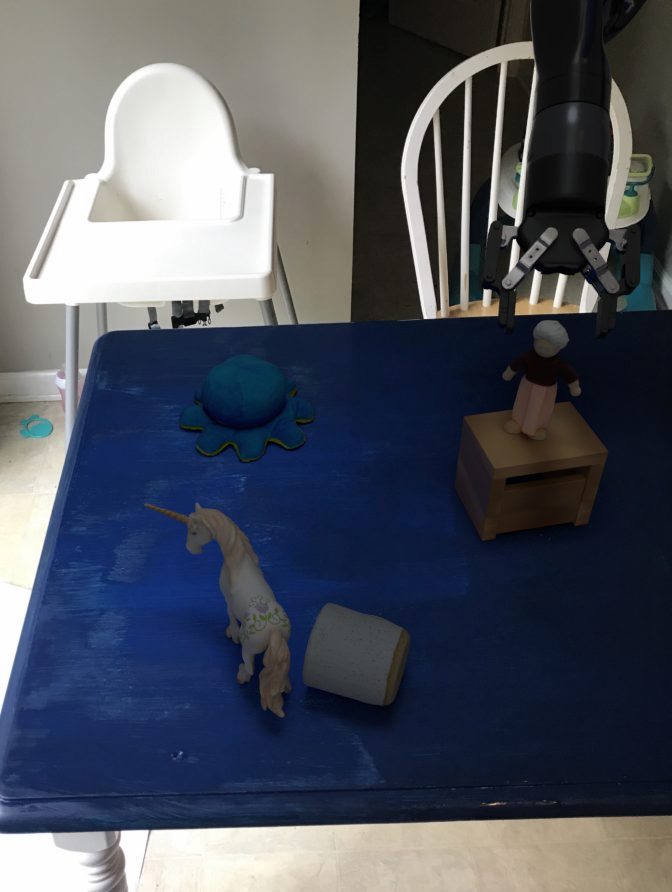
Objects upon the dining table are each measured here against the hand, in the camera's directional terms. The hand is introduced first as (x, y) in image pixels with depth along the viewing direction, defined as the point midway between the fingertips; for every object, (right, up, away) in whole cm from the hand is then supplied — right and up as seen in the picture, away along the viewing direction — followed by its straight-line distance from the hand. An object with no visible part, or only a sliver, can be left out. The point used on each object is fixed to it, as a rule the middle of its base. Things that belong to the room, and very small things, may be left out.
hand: (554, 334), depth 79 cm
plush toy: (-30, -5, +28) cm, 41 cm away
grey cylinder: (-19, -31, -2) cm, 37 cm away
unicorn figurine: (-31, -31, 0) cm, 44 cm away
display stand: (0, -16, +14) cm, 21 cm away
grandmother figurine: (0, -9, +7) cm, 11 cm away
